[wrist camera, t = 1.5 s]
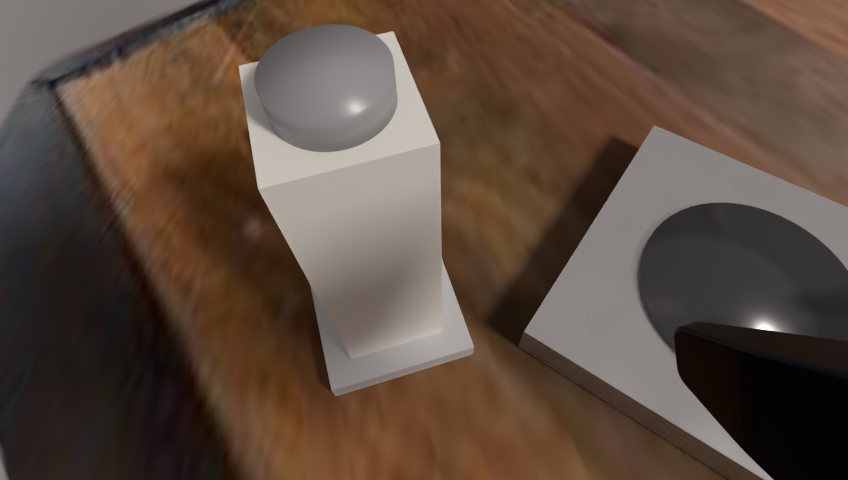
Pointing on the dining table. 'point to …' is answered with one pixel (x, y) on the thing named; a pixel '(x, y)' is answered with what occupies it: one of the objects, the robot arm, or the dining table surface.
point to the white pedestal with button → (356, 199)
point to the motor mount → (690, 284)
